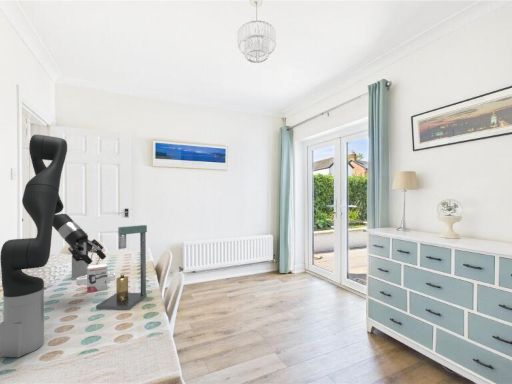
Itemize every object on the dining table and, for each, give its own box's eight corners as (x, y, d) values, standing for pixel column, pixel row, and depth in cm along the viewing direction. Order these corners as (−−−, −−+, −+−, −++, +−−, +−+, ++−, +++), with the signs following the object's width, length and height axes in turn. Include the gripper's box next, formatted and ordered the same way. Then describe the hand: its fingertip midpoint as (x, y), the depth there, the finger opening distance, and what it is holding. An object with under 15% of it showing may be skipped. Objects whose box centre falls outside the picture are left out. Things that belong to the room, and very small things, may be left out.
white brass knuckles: (117, 275, 151) (113, 283, 138) (81, 279, 145) (73, 288, 131) (117, 269, 151) (113, 276, 138) (81, 273, 145) (73, 281, 131)
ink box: (87, 293, 123) (87, 268, 123) (87, 290, 127) (87, 266, 127) (107, 289, 128) (107, 265, 128) (107, 286, 132) (106, 263, 132)
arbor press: (131, 310, 104) (130, 229, 104) (96, 309, 105) (95, 229, 105) (149, 295, 119) (149, 225, 119) (118, 295, 120) (118, 225, 120)
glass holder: (69, 277, 147) (69, 251, 147) (98, 272, 156) (98, 247, 156) (71, 281, 140) (71, 253, 140) (101, 275, 149) (101, 249, 150)
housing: (124, 301, 109) (124, 277, 109) (114, 301, 109) (114, 276, 110) (130, 297, 114) (130, 273, 114) (120, 296, 114) (120, 273, 114)
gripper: (65, 230, 107) (91, 258, 105) (90, 226, 121) (113, 250, 120) (53, 243, 107) (79, 271, 106) (79, 237, 121) (103, 262, 120)
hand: (97, 260), depth 113 cm, fingers open, 8 cm apart
